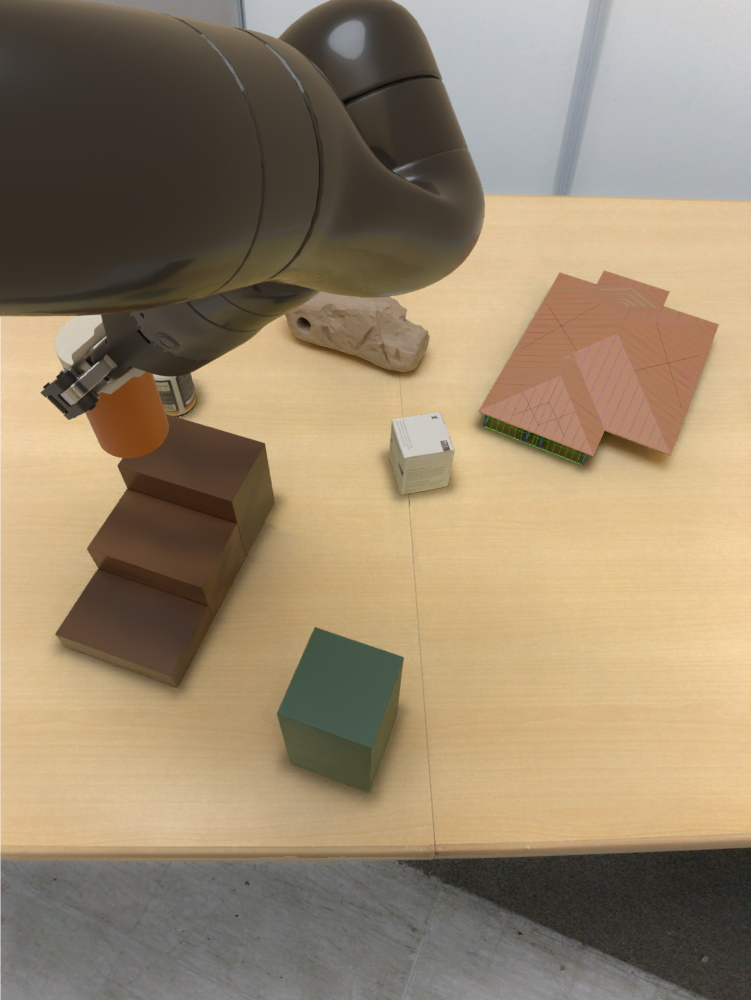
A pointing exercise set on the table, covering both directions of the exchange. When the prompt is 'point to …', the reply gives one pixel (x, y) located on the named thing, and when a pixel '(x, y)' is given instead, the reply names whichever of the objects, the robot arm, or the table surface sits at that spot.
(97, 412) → the amber bottle
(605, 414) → the house
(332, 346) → the decorative stone
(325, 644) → the stand
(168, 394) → the pill bottle
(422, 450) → the product carton
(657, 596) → the table surface
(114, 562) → the riser
